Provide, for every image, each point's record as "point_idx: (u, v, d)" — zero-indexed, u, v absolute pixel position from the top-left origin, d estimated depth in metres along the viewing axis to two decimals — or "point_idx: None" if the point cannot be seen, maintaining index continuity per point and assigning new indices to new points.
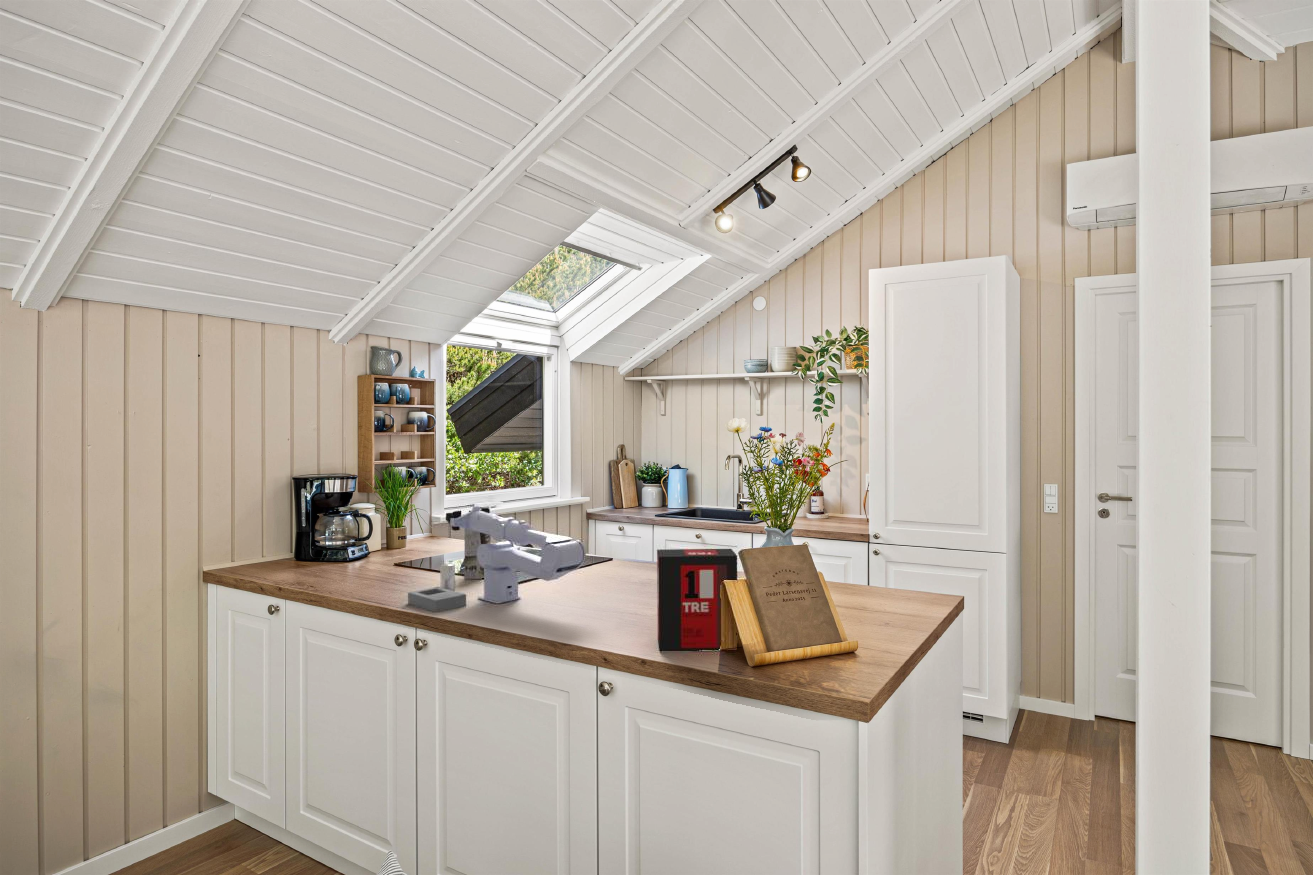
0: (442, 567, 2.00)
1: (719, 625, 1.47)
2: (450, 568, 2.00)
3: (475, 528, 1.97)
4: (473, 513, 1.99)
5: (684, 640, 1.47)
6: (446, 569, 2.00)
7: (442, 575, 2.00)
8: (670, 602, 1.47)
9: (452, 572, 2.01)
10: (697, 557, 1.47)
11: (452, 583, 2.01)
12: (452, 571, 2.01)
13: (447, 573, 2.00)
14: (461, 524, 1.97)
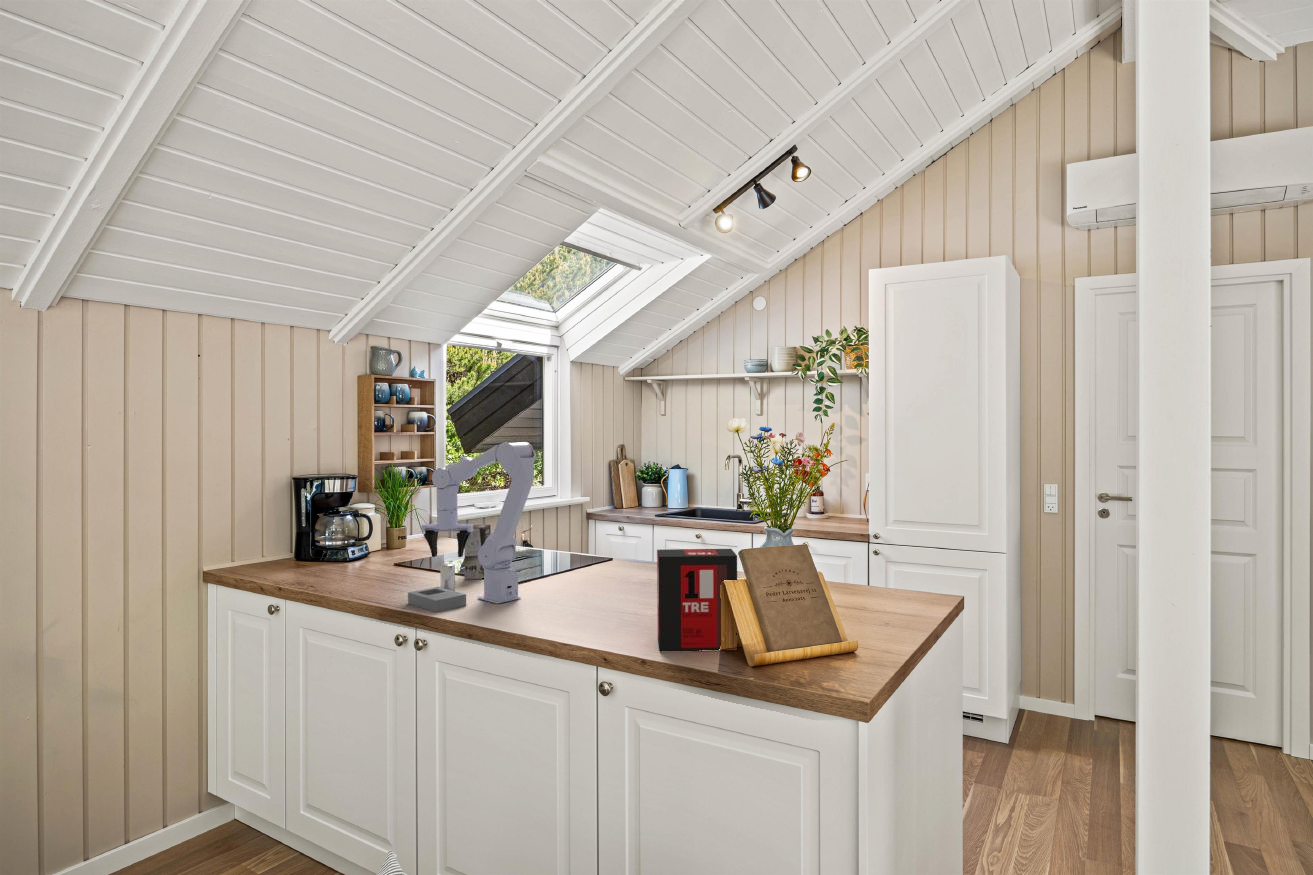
0: (442, 567, 2.00)
1: (719, 625, 1.47)
2: (450, 568, 2.00)
3: (437, 514, 2.00)
4: None
5: (684, 640, 1.47)
6: (446, 569, 2.00)
7: (442, 575, 2.00)
8: (670, 602, 1.47)
9: (452, 572, 2.01)
10: (697, 557, 1.47)
11: (452, 583, 2.01)
12: (451, 571, 2.00)
13: (447, 573, 2.00)
14: None
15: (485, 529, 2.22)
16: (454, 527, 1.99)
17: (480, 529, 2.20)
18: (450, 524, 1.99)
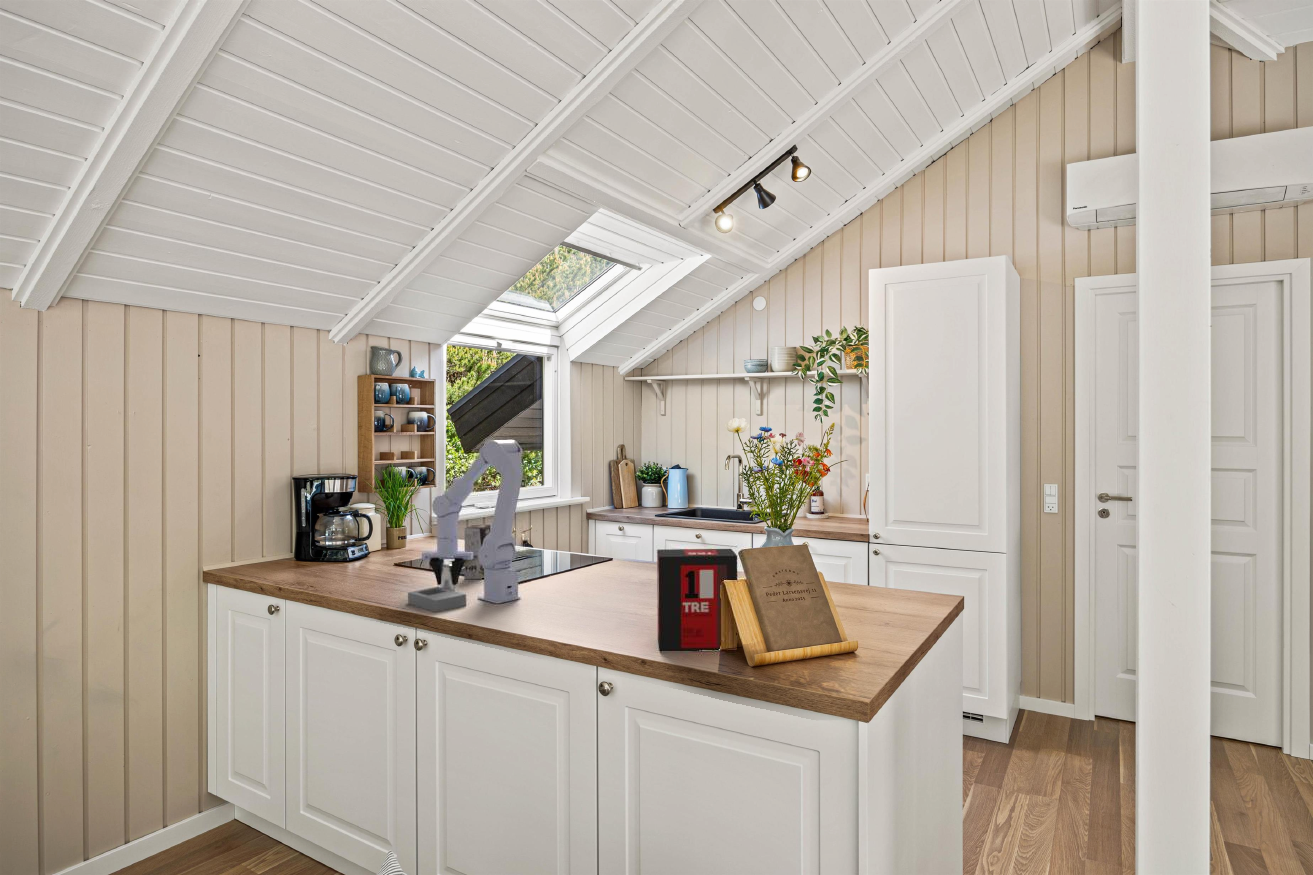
0: (442, 567, 2.00)
1: (719, 625, 1.47)
2: (450, 568, 2.00)
3: (437, 541, 2.00)
4: None
5: (684, 640, 1.47)
6: (446, 569, 2.00)
7: (442, 575, 2.00)
8: (670, 602, 1.47)
9: (452, 572, 2.01)
10: (697, 557, 1.47)
11: (452, 583, 2.01)
12: (451, 571, 2.00)
13: (447, 573, 2.00)
14: (430, 553, 2.01)
15: (485, 529, 2.22)
16: (454, 555, 1.99)
17: (480, 529, 2.20)
18: (450, 552, 1.99)
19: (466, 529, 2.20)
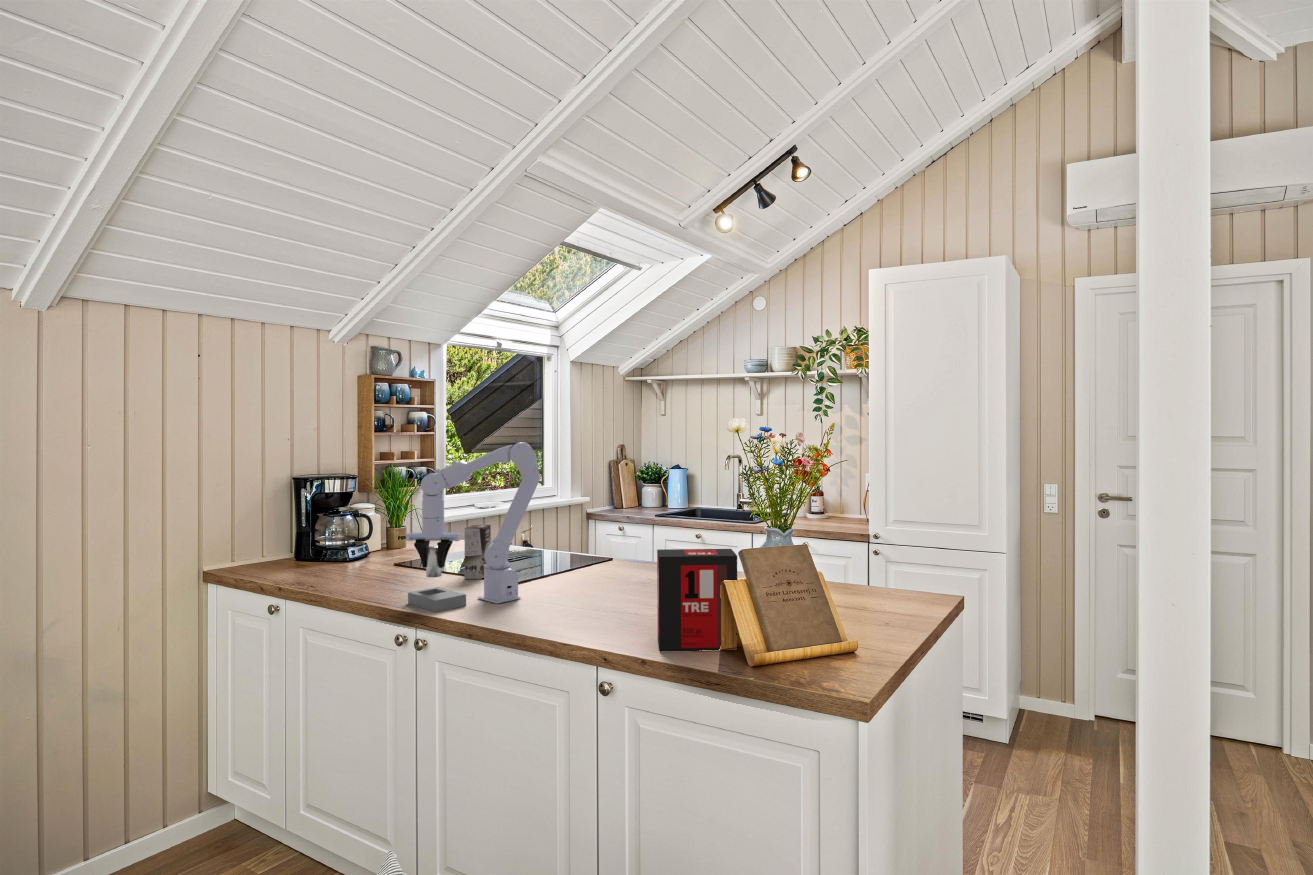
0: (428, 549, 1.90)
1: (719, 625, 1.47)
2: (436, 550, 1.90)
3: (422, 522, 1.90)
4: None
5: (684, 640, 1.47)
6: (432, 551, 1.90)
7: (428, 557, 1.90)
8: (670, 602, 1.47)
9: (438, 554, 1.90)
10: (697, 557, 1.47)
11: (438, 566, 1.90)
12: (438, 553, 1.90)
13: (433, 555, 1.90)
14: (415, 534, 1.91)
15: (485, 529, 2.22)
16: (440, 536, 1.89)
17: (480, 529, 2.20)
18: (436, 533, 1.89)
19: (466, 529, 2.20)
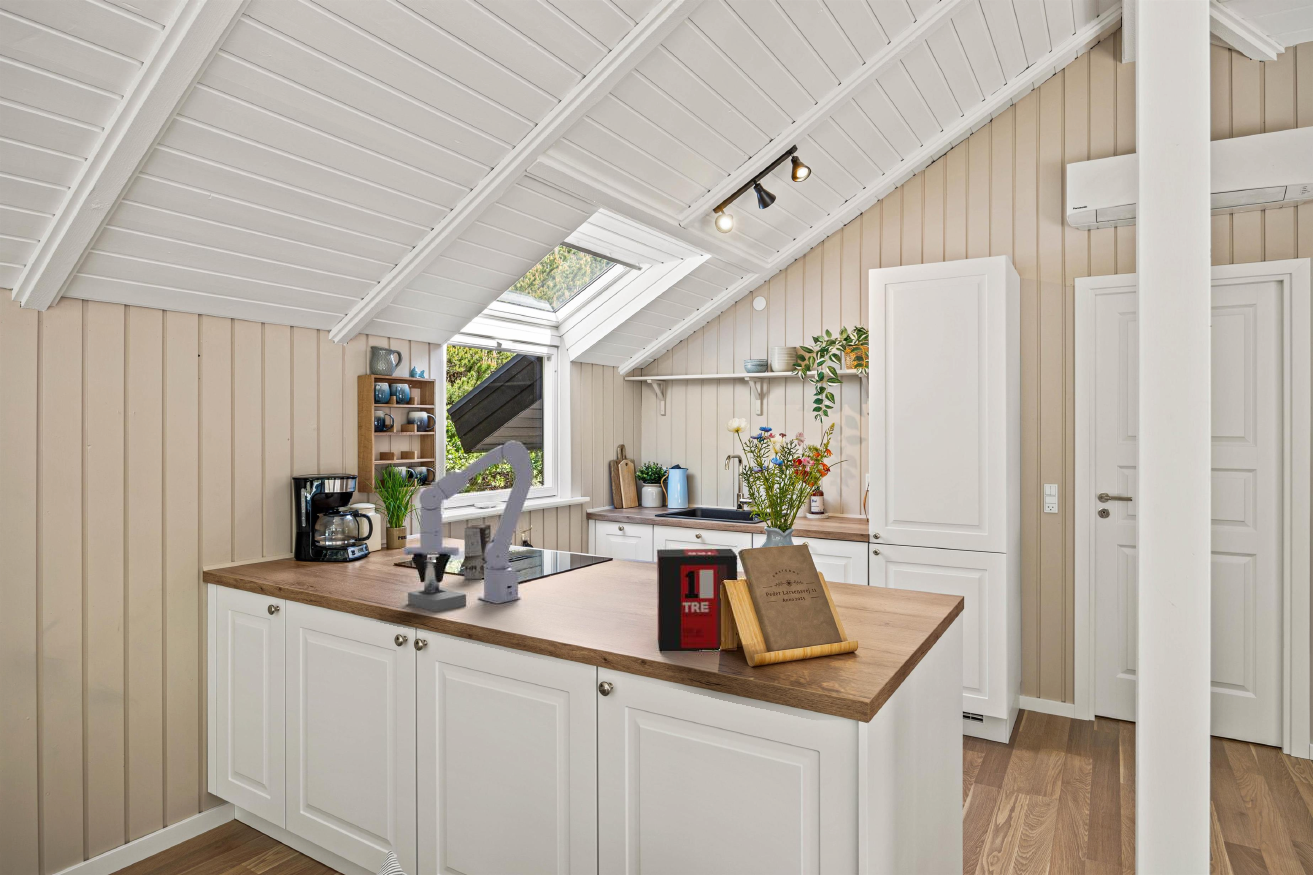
0: (426, 563, 1.88)
1: (719, 625, 1.47)
2: (434, 564, 1.88)
3: (420, 536, 1.88)
4: None
5: (684, 640, 1.47)
6: (430, 565, 1.88)
7: (426, 572, 1.88)
8: (670, 602, 1.47)
9: (436, 569, 1.89)
10: (697, 557, 1.47)
11: (436, 580, 1.89)
12: (436, 567, 1.89)
13: (431, 569, 1.88)
14: None
15: (485, 529, 2.22)
16: (438, 551, 1.87)
17: (480, 529, 2.20)
18: (434, 547, 1.87)
19: (466, 529, 2.20)
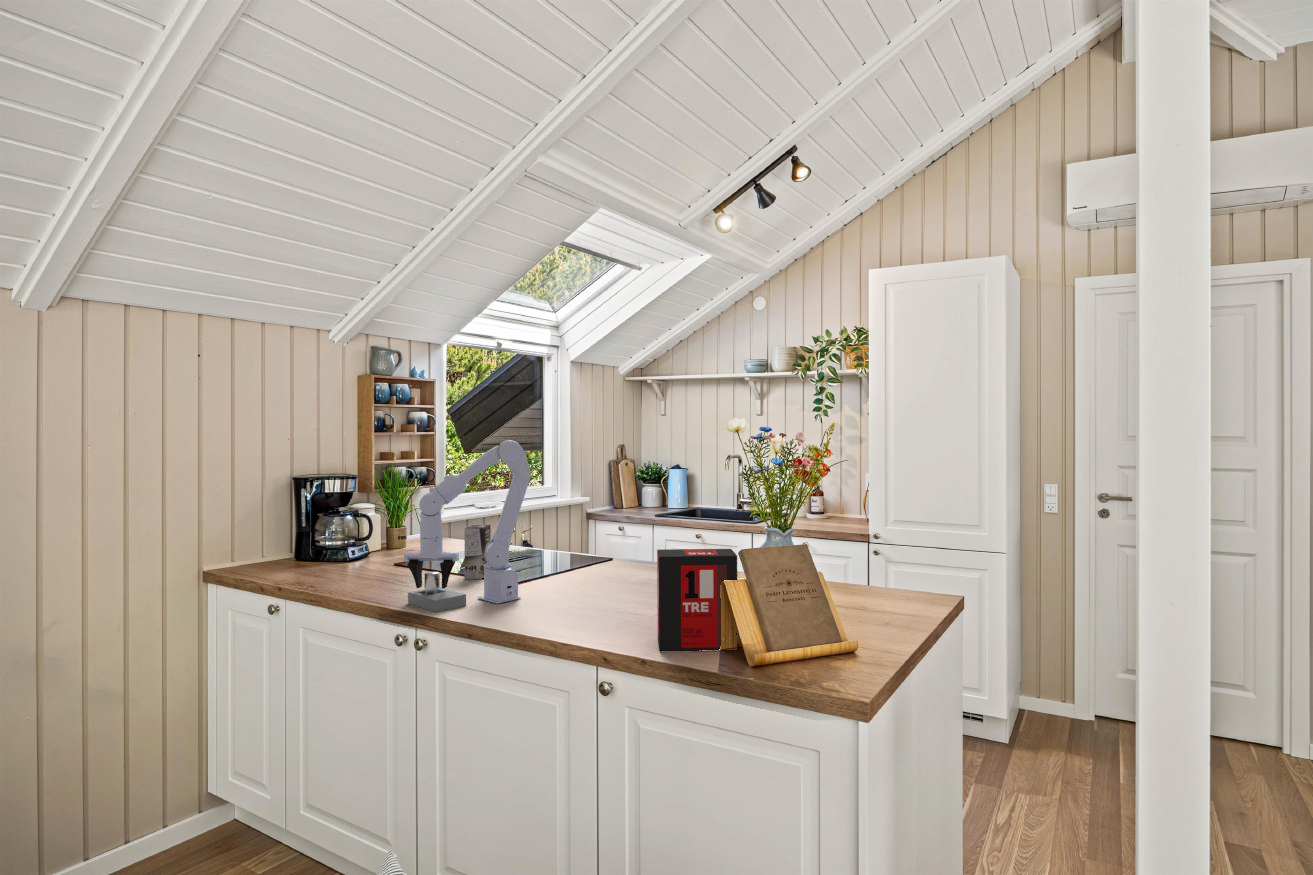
0: (426, 575, 1.88)
1: (719, 625, 1.47)
2: (434, 576, 1.88)
3: (420, 542, 1.88)
4: None
5: (684, 640, 1.47)
6: (430, 577, 1.88)
7: (426, 584, 1.88)
8: (670, 602, 1.47)
9: (437, 580, 1.89)
10: (697, 557, 1.47)
11: (437, 592, 1.89)
12: (436, 579, 1.89)
13: (431, 581, 1.88)
14: None
15: (485, 529, 2.22)
16: (438, 556, 1.87)
17: (480, 529, 2.20)
18: (434, 553, 1.87)
19: (466, 529, 2.20)
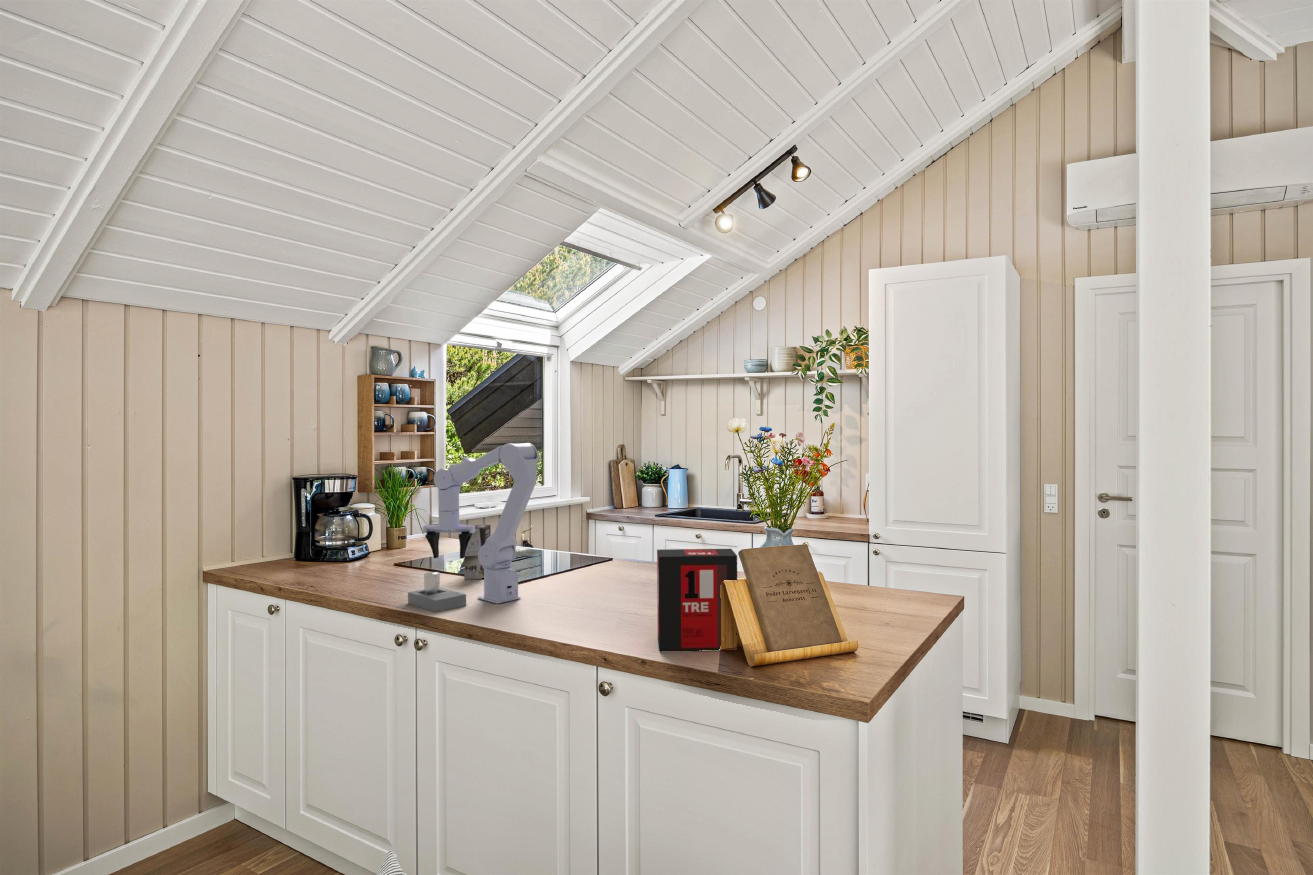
0: (426, 576, 1.88)
1: (719, 625, 1.47)
2: (434, 577, 1.88)
3: None
4: None
5: (684, 640, 1.47)
6: (430, 578, 1.88)
7: (426, 584, 1.88)
8: (670, 602, 1.47)
9: (436, 581, 1.89)
10: (697, 557, 1.47)
11: None
12: (436, 579, 1.89)
13: (431, 582, 1.88)
14: None
15: (485, 529, 2.22)
16: (456, 528, 1.99)
17: (480, 529, 2.20)
18: (452, 525, 1.99)
19: None
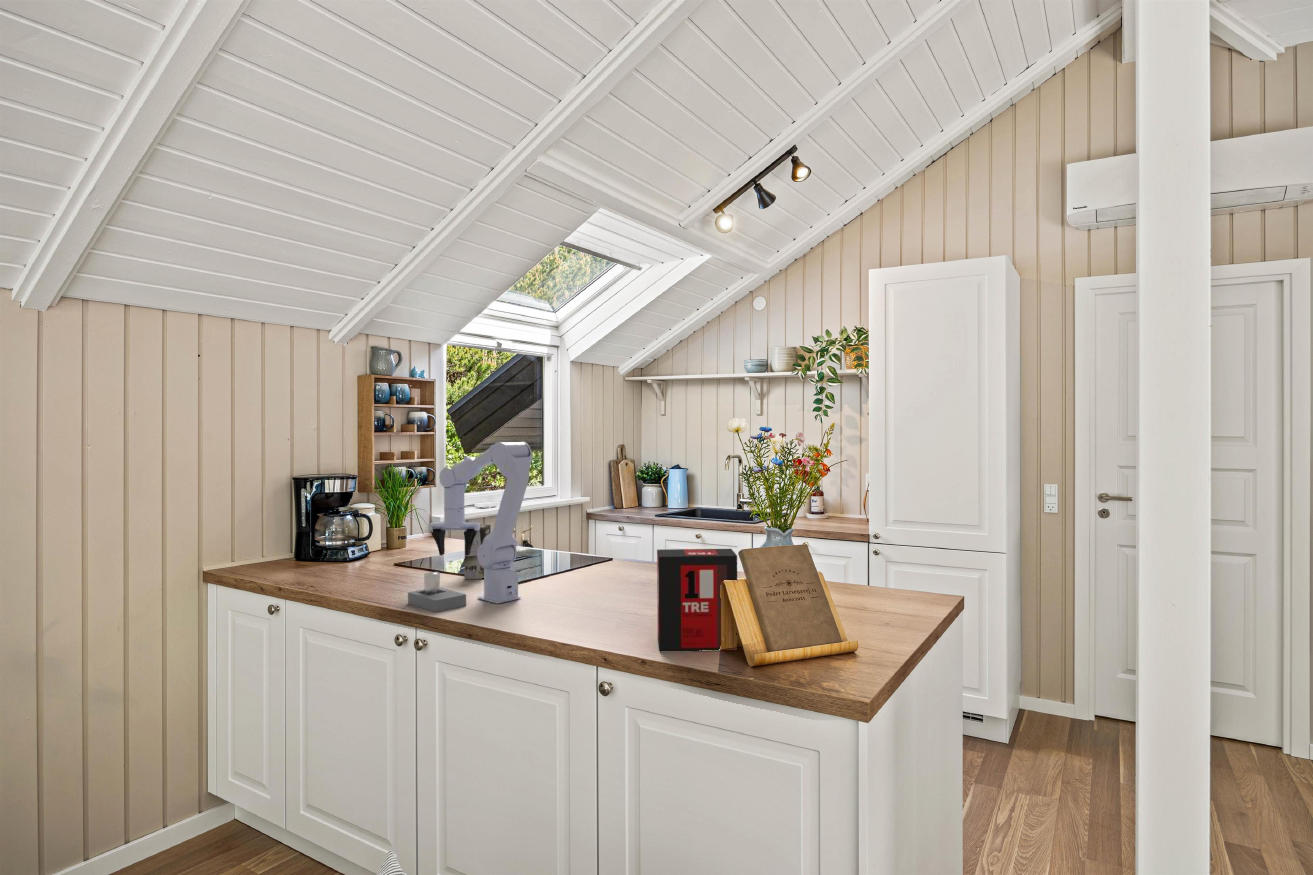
0: (426, 576, 1.88)
1: (719, 625, 1.47)
2: (434, 577, 1.88)
3: (444, 512, 2.03)
4: None
5: (684, 640, 1.47)
6: (430, 578, 1.88)
7: (426, 584, 1.88)
8: (670, 602, 1.47)
9: (437, 581, 1.89)
10: (697, 557, 1.47)
11: None
12: (436, 580, 1.89)
13: (431, 582, 1.88)
14: (437, 524, 2.04)
15: (485, 529, 2.22)
16: (461, 526, 2.02)
17: (480, 529, 2.20)
18: (457, 523, 2.02)
19: None
